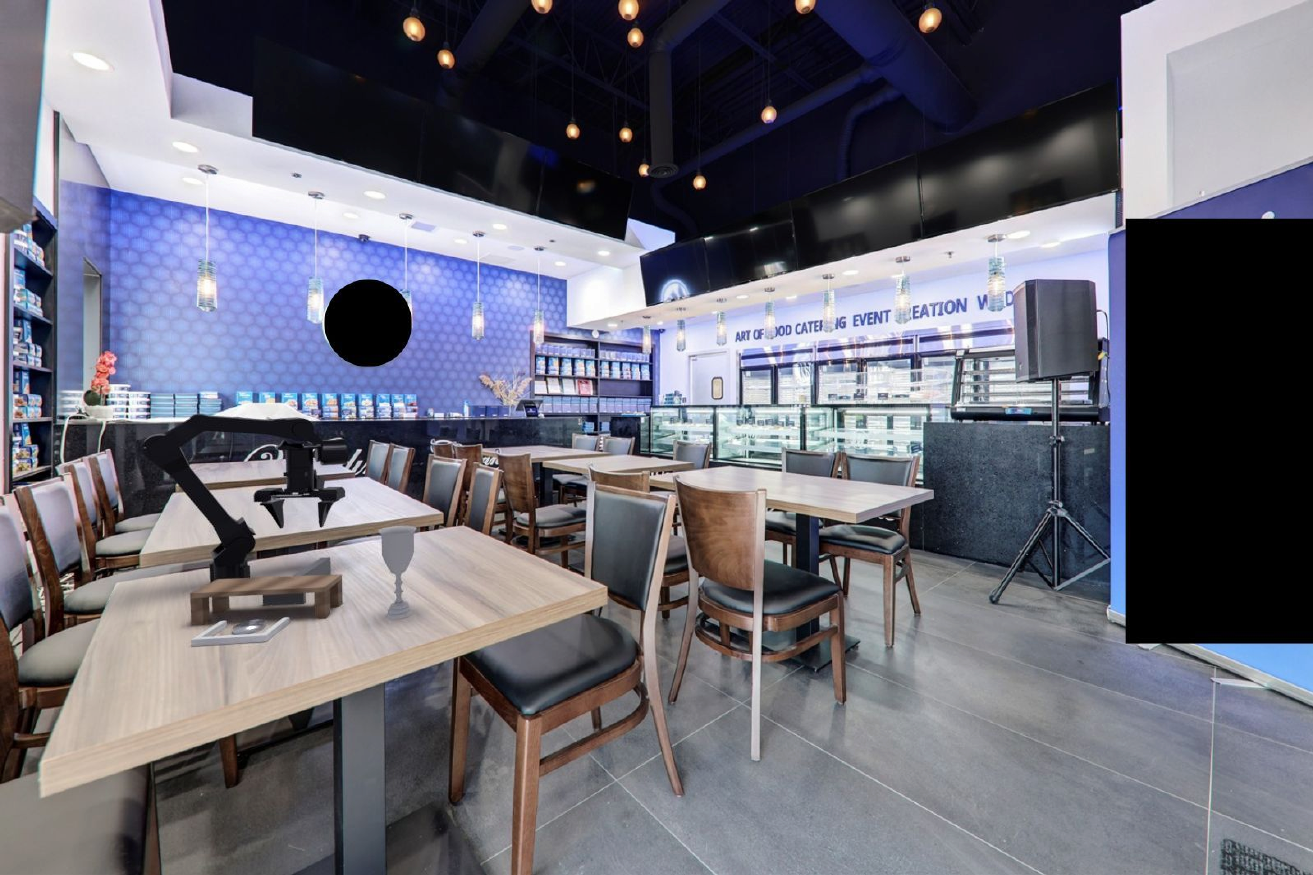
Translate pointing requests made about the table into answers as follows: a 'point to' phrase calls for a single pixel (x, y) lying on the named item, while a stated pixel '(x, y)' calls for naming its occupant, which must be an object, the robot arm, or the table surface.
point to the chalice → (398, 563)
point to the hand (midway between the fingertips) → (301, 527)
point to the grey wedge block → (315, 568)
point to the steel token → (249, 627)
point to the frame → (209, 639)
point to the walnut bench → (266, 593)
